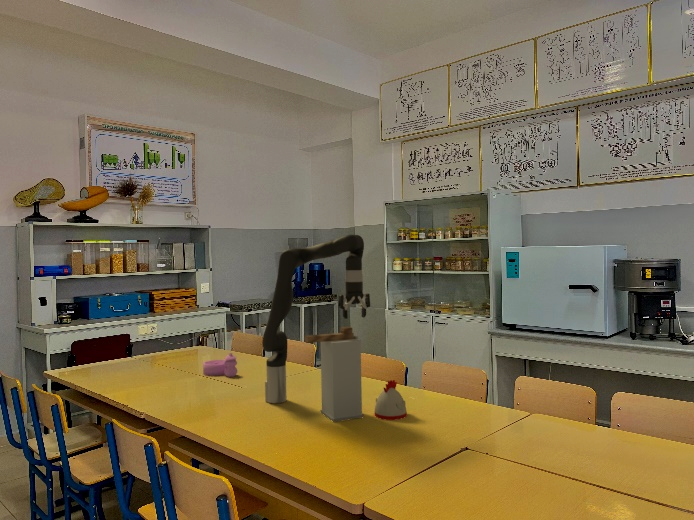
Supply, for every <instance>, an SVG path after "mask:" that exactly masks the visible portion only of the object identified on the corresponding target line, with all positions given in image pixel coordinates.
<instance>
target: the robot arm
mask: <svg viewBox="0 0 694 520" xmlns="http://www.w3.org/2000/svg"><path fill="white" fill-rule="evenodd" d="M364 249H365V243H364V239H363V237H362V236H361V235H358V234H347V235H344V236H341V237H339V238H336V239H331V240H328V241H324V242H321V243H318V244H316V245H312V246H307V247H292V248H287V249H285V250H283V251H282V252H281V253H280V256H279V260H278V269H277V271H278V272H277V278H276V283H275V288H274V292H273V297H272V301H271V306H270V311H269V316H268V319H267V323H266V326H265V330H264V331H263V332H264V333H263V335H262V340H261V343H262V348H263V350H264V351H265V352H266V353H272V352H273V354H272V355H271V356H270V357H269V358H267V359H266V380H265V382H264V391H265V392H264V394H265V395H264V396H265V402H266V403H267V402H268V403H269V404H281V403H285V402H287V359H288V336H287V334H286V332H285V331H283V330H279V328H280V326H281V324H282V323H283V321H284V320H285V319H286V317H287V316H288V315H289V314H290V311H291V309H292V305H293V301H294V290H293V285H292V284H293V283H292V281H293V275H294V272H295V270H296V269H297V268H300V267H301V266H303V265H305V264H307V263H309V262H311V261H315V260H319V259H326V258H331V257H335V256H339V255H342V254H343V253H346V252H348V253H349V254H348V256H347V257H346V258H345V277H344V278H345V279H344V280H345V281H344V282H345V294H338V305H337V306H338V309H340V310H342V317H343V319H346V320H347V319H348V318H349V317H348V314H349V313H348V308H349V307H350V306H351V305H360V306H359V307H360V308H361V317H362V318H364V319H365V318H366V316H367V309H368V308H370V307H371V298H370V297H371V296H370V293H364V291H363V290H364V278H363V277H364V275H363V262H362V260H363V256H364ZM363 298H364V301H363ZM345 299H346V300H345ZM344 301H345V302H344Z"/></svg>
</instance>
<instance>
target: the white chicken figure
mask: <svg viewBox="0 0 694 520" xmlns="http://www.w3.org/2000/svg"><path fill="white" fill-rule="evenodd" d="M397 384H398V382H397V381H395V379H392V380H387V383H385V387H383V390H382V391H381V392H380V393H379V395H378V396H377V398H375V405H374V417H375V416H376V417H375V418H377V417H378V418H377V419H379V418H381V419H380V420H384V419H386V420H385V421H396V420H395V419H398V420H401V418H402V419H404V417H405V418H406V417H407V416H408V415H407V413H408V412H407V406H406V401H405V400H404V398H403V396H402V395H401V393H400V392H399V391H398V390H397V389H396V388H397ZM406 415H407V416H406Z"/></svg>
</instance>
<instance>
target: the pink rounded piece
mask: <svg viewBox="0 0 694 520" xmlns="http://www.w3.org/2000/svg"><path fill="white" fill-rule="evenodd" d="M202 364H203V365H202V368H203V370H202V372H203V375H204V376H210V377H212V376H213V377H214V376H222V375H223V376H224V375H225V376H226V377H228V378H231V377H236V376H237V374H238V368H237V367H236V366H237V364H238V361H237V356H236V355H234V354H233V353H232V352H229V353H228V355H226V356H225V357H224V359H212V360H206V361H203V362H202Z"/></svg>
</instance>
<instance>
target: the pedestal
mask: <svg viewBox="0 0 694 520" xmlns="http://www.w3.org/2000/svg"><path fill="white" fill-rule="evenodd" d="M361 342H362V341H361V339H359V337H358V335H355V334H354V339H348V340H336V341H325V342H320V373H321V374H320V376H321V377H320V378H321V379H320V380H321V382H320V383H321V384H320V385H321V409H320V410H319V412H321V413H320V414H321V415H323V414H324V415H325V416H324V415H323V416H324V417H326V418H327V417H328V418H329V419H330V420H329V419H328V418H327V419H328V420H329V421H331V420H332V421H333V422H332V421H331V422H332V423H335V422H334V421H338V422H343V421H342V420H345V421H349V420H348V419H351V420H355V419H354V418H358V419H363V418H362V417H365V416H364V414H363V399H362V398H363V397H362V394H363V393H362V389H363V387H362V346H361V345H362V343H361Z"/></svg>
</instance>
